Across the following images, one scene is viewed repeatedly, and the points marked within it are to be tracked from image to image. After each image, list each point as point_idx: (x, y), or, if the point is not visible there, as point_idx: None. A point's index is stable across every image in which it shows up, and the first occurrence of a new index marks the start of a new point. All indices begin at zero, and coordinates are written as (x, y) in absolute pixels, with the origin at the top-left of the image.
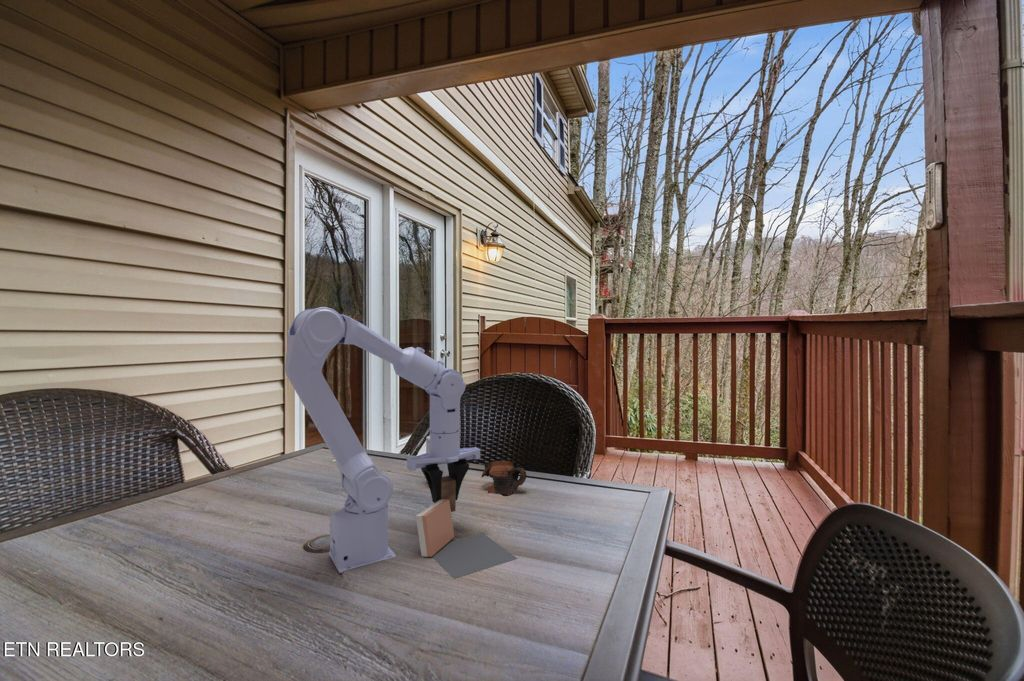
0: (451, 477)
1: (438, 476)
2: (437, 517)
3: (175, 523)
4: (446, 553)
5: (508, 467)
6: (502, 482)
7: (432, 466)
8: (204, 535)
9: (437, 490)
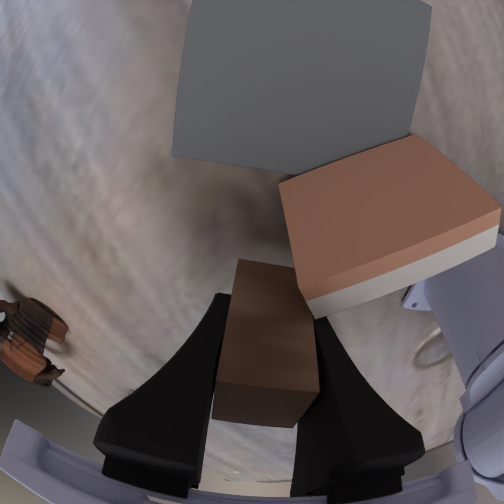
0: (214, 406)
1: (370, 427)
2: (408, 210)
3: (446, 426)
4: (365, 119)
5: (6, 349)
6: (30, 328)
7: (367, 489)
8: (461, 405)
9: (341, 357)
